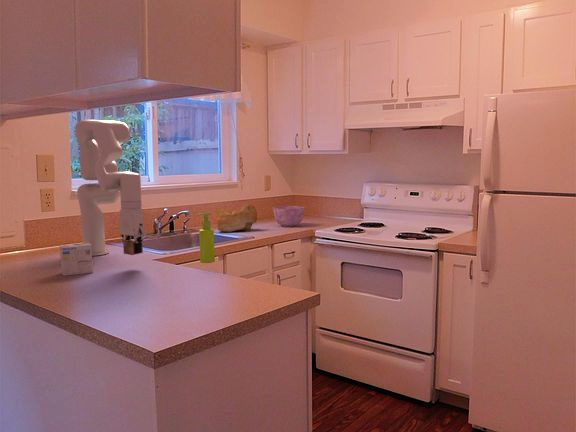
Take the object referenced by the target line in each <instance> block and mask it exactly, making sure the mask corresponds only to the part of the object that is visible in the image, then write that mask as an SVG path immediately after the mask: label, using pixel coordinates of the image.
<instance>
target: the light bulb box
mask: <svg viewBox="0 0 576 432" xmlns="http://www.w3.org/2000/svg"><path fill="white" fill-rule="evenodd" d="M59 254H60V255H59V256H60V266H61V267H60V268H61V274H62V276H63V277H65V276H73V275H83V274H91V273H94V265H93V264H94V263H93V256H92V249H91V244H90V243H82V242H79V243H69V244H60V245H59Z"/></svg>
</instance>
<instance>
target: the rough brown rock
mask: <svg viewBox="0 0 576 432" xmlns="http://www.w3.org/2000/svg"><path fill="white" fill-rule="evenodd" d="M257 213H258V212H257V209H256V207H255V206H254V205H252V204H251V205H250V204H249V205H248V204H247V205H245V204H244V205H242V206H241V207H240V208H239V209H237V210H233V211H230V210H228V209H226V208H218V209H217V210H216V214H217V220H216V221H217V225H216V227H217V230H218V231H220V232H223V233H226V232H229V233H231V232H236V231H241V230H243V231H244V232H249V231H251V229H252V227H253V224H255V223H257V221H258V214H257Z"/></svg>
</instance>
